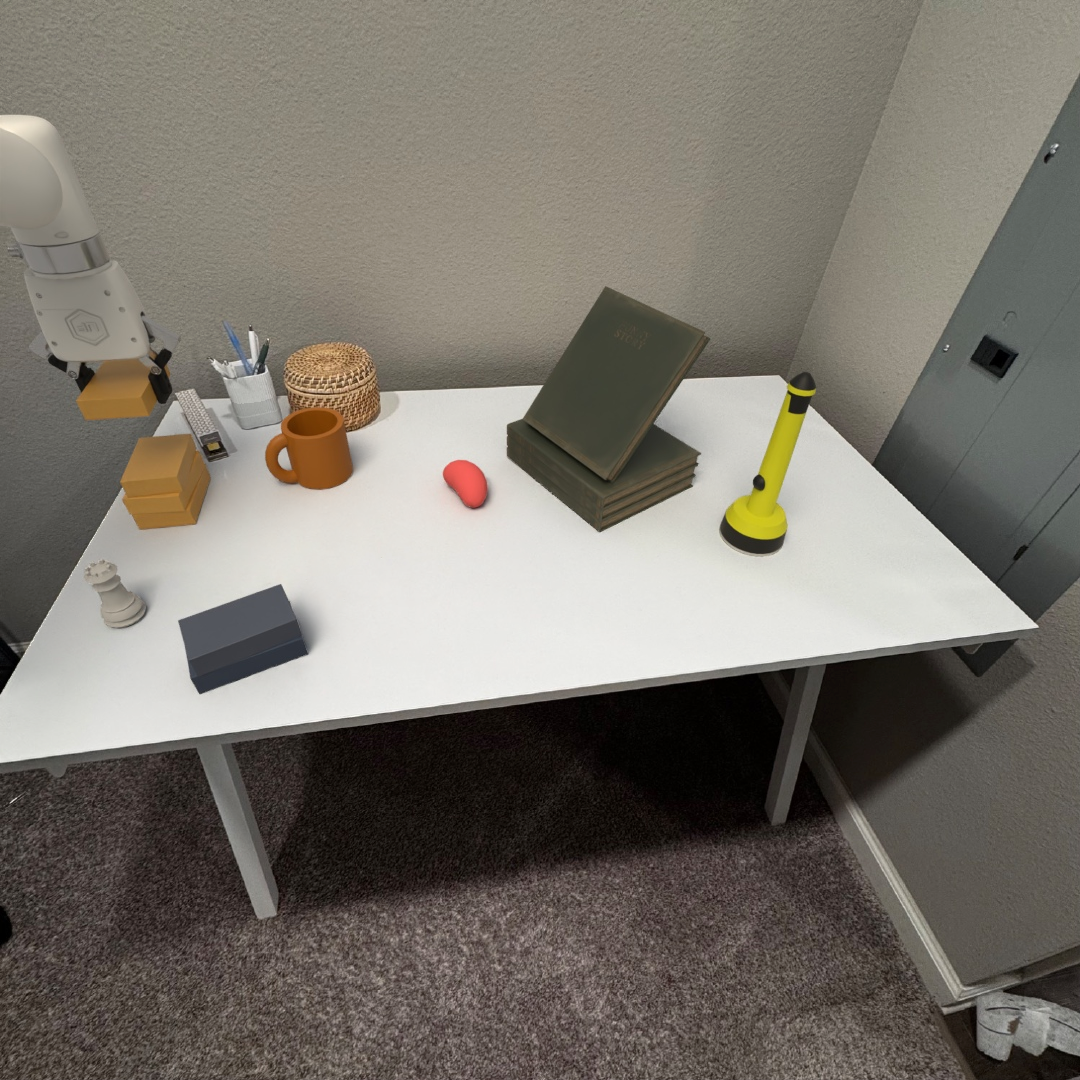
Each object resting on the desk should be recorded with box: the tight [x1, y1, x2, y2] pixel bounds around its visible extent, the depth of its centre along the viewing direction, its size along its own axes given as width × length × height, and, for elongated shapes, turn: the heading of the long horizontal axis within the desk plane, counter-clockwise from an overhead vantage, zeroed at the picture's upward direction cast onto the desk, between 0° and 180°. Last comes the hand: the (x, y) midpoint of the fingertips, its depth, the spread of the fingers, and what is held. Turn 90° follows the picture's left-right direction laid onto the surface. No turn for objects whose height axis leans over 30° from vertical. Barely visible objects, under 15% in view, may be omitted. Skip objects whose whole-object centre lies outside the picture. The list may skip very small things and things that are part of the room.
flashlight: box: [718, 371, 817, 557], centre depth 81 cm, size 25×9×9 cm
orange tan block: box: [75, 359, 171, 421], centre depth 78 cm, size 11×7×3 cm, turn 11°
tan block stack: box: [119, 433, 212, 530], centre depth 87 cm, size 12×8×8 cm, turn 11°
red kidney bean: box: [442, 459, 489, 508], centre depth 92 cm, size 5×9×6 cm, turn 21°
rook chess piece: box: [83, 558, 147, 629], centre depth 71 cm, size 4×4×8 cm
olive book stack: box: [506, 285, 711, 533], centre depth 91 cm, size 23×20×25 cm
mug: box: [264, 406, 354, 490], centre depth 93 cm, size 9×12×9 cm
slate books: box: [177, 583, 309, 695], centre depth 68 cm, size 12×7×6 cm, turn 119°
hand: (132, 400), depth 79 cm, fingers closed on orange tan block, 7 cm apart
